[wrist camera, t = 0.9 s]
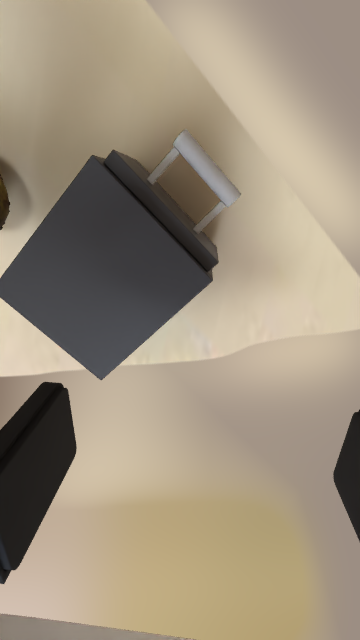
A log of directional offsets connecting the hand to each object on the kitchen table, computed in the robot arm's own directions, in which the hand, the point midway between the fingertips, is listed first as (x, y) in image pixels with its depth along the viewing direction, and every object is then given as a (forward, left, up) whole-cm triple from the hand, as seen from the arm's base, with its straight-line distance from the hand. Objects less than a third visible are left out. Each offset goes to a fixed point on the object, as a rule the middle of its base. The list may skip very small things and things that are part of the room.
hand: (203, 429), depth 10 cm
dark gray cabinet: (-5, -8, -24) cm, 26 cm away
